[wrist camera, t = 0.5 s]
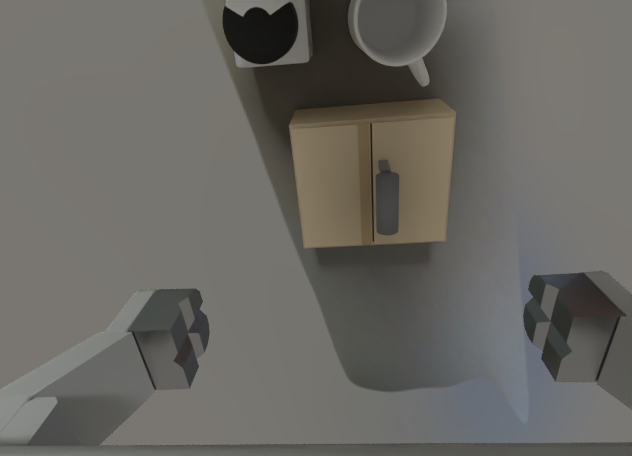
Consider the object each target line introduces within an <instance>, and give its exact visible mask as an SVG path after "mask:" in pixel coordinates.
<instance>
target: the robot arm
mask: <svg viewBox="0 0 632 456" xmlns="http://www.w3.org/2000/svg"><path fill="white" fill-rule="evenodd" d="M528 290H529V292H530V293H531V295H532V296H533V298H532V299H531V300H530V301H528V302H527V303H526V304H525V308H524V314H523V319H524V327H525V330H526V333H527V336H528V338H529V339H530V341H531V343H532V344H533V345H535V346H536V347H538V348H540V349H541V350H543V353H542V358H541V359H542V361H543V362H544V364H545V366H546V367H547V369H548V370H549V372H550V374H551V375H552V377H553V378H554V380H555V382H597V385H599V386H600V387H602V388H603V389H604V390H606V391H607V392H608V393H610V394H611V395H612V396H614V397H615V398H617V399H618V400H619V401H621V402H622V403H624V404H625V405H626V406H628V407H629V408H630V409H632V294H631V293H630V292H629V291H628V290H626V289H625V288H624V287H623V286H622V285H621V284H620V283H619V282H618V281H616V280H615V279H614V278H613V277H612V276H611V275H610V274H608V273H606V272H603V271H593V272H580V273H570V274H550V275H534V276H533V277H532V279H531V280H530V283H529V288H528ZM202 302H203V301H202V298H201V294H200V291H198V290H197V289H159V290H157V289H154V290H153V289H152V290H139V291H137V292H135V293H134V295H133V296H132V297H131V298H130V300H129V301H128V302H127V303H126V305H125V306H124V307H123V309H122V310H121V311H120V313H119V314H118V315H117V317H116V318H115V319H114V320H113V322H112V323H111V324H110V326H109V327H108V328H107V329H106V331H105V332H104V333H97V334H95V335H94V336H92V337H90V338H88V339H87V340H85V341H83V342H82V343H80V344H78V345H76V346H75V347H73V348H71V349H70V350H68V351H66V352H64V353H62V354H61V355H59V356H57V357H56V358H54V359H52V360H50V361H49V362H47V363H45V364H44V365H42V366H40V367H39V368H37V369H35V370H33V371H31V372H30V373H28V374H26V375H25V376H23V377H21V378H19V379H18V380H16V381H14V382H13V383H11V384H9V385H7V386H6V387H4V388H2V389H1V390H0V456H632V442H629V443H628V442H622V443H442V444H441V443H438V444H437V443H426V444H267V445H266V444H262V445H261V444H259V445H100V444H101V443H102V442H103V441H104V440H105V439H106V438H107V437H108V436H110V435H111V434H112V433H113V432H114V431H115V430H116V429H117V428H118V427H119V426H120V425H121V424H122V423H123V422H124V421H125V420H126V419H127V418H129V417H130V416H131V415H132V414H133V413H134V412H135V411H136V410H137V409H138V408H139V407H140V406H141V405H142V404H143V403H144V402H145V401H146V400H147V399H148V398H150V397H151V396H152V395H153V394H154V393H155V390H168V389H188V388H189V389H190V387H191V384H192V382H193V379H194V377H195V375H196V372H197V370H198V367H199V365H198V363H197V358H198V357H200V356H201V355H202V354H203V353H204V352H205V350H206V347H207V344H208V339H209V323H208V319H207V316H206V315H205V314H204V313H203V312H202V311H201V310H200V307H201V305H202Z"/></svg>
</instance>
